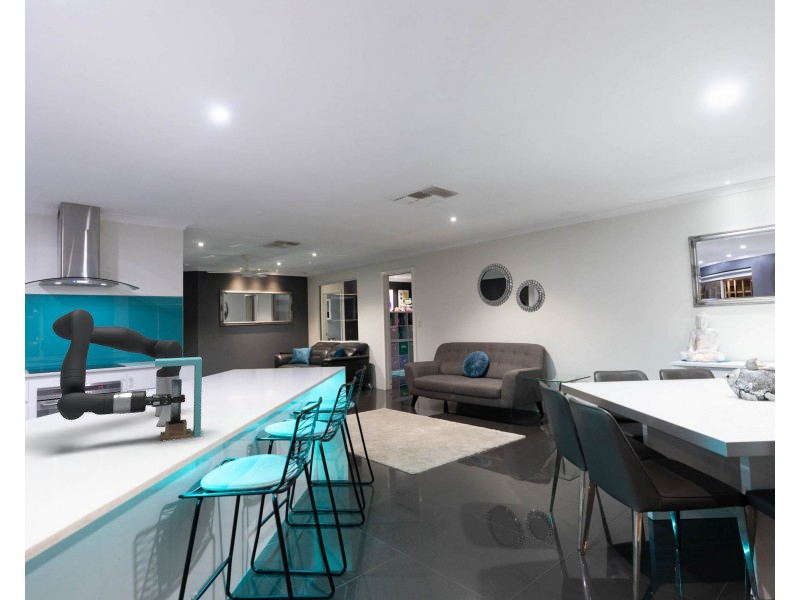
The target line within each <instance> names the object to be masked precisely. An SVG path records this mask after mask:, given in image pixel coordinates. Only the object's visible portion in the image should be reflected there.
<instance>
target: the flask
mask: <svg viewBox="0 0 800 600" xmlns="http://www.w3.org/2000/svg"><path fill="white" fill-rule="evenodd" d="M170 411H171V405H166V406H163V410H162V413H161V416H159V418H158V421H157V423H156V427H165V424H166V421H170Z"/></svg>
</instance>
